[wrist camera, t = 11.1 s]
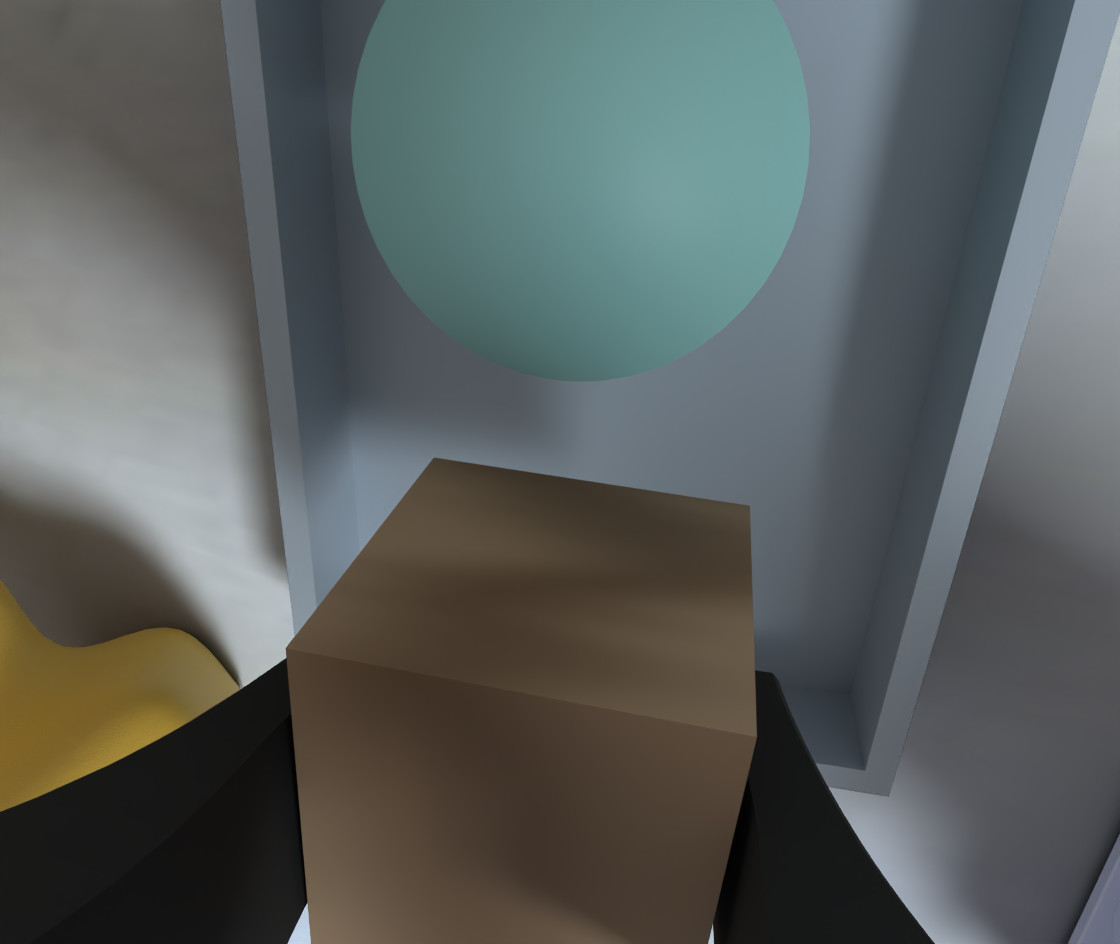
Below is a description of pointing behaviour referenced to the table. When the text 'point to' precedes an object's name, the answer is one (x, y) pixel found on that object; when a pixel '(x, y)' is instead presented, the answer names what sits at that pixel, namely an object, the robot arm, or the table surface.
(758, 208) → the teal cylinder
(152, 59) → the table surface
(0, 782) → the dumbbell
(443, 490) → the cube
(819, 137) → the tote
